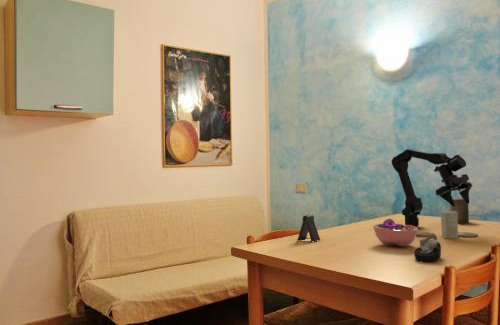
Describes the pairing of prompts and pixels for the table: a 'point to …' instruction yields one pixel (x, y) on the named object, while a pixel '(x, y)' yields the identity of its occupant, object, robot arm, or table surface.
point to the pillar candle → (461, 210)
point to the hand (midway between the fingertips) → (461, 204)
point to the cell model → (395, 233)
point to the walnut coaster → (467, 234)
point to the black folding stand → (308, 229)
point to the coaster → (424, 234)
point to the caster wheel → (428, 250)
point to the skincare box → (449, 224)
